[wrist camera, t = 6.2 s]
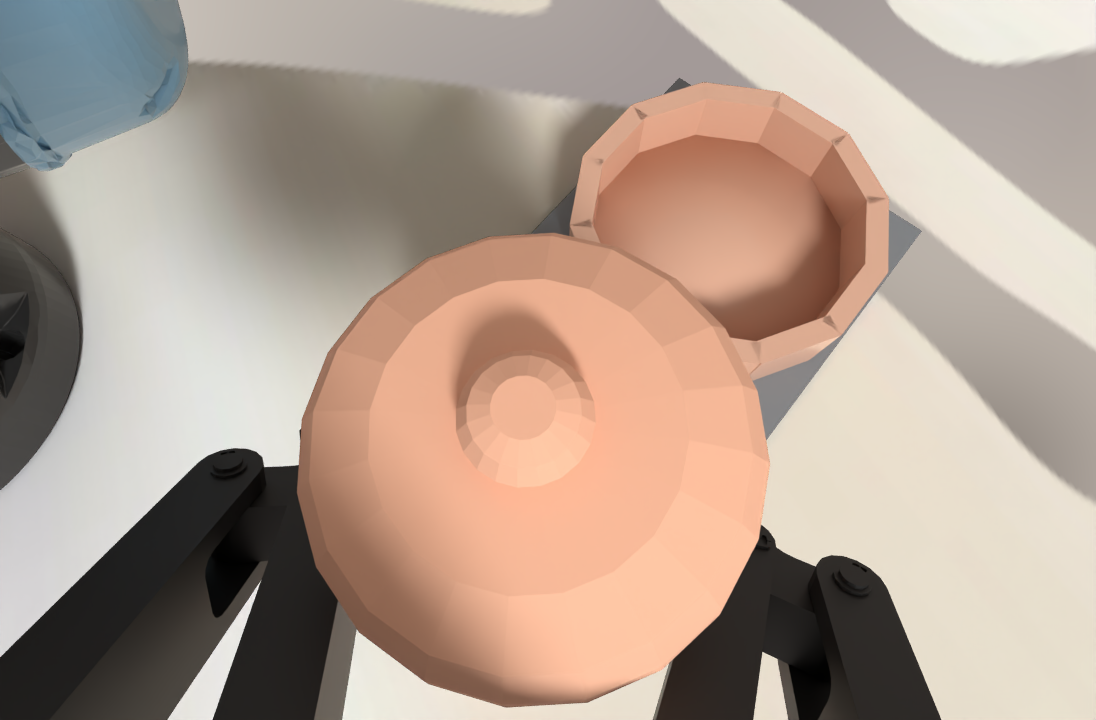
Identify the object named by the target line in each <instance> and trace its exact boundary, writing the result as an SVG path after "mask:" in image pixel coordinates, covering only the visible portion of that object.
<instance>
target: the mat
mask: <svg viewBox="0 0 1096 720" xmlns="http://www.w3.org/2000/svg"><path fill="white" fill-rule="evenodd" d="M689 86H691V85H690V84H688V83H687V82H685V81H683V80H682V79H680V78H679V79H678V80H677V81H676V82H675V83H674V84H673V85H672V86H671V87H670V88H669V89H668V90H667V91H666V92H665V93H664V94H667V93H670V92H673V91H677V90H680V89H683V88H686V87H689ZM664 94H663V95H664ZM576 189H577V186H576V187H575V188H574V189H573V190H572V191H571V192H570V193H569V194H568V195H567V196H566V197H565V199H564V200H563V201H562V202H561V203H560V204H559V205H558V206H557V207H556V208H555V209H554V210H553V211H552V212H551V213H550V214H549V215H548V216H547V217H546V219H545V220H544V221H543V222H542V223H541V224H540V225H539V226H538V227H537V228H536V229H535V230H534V231H533V232H532V233H531V234H541V233H558V234H562V235H567V236H569V232H570V220H571V215H572V210H573V205H574V200H575V194H576ZM920 233H921V230H920V229H918V228H916V227H915V226H913V225H912V224H910V223H909V222H907V221H905V220H904V219H902V218H901V217H899V216H897V215H896V214H894V213H893V212H891V211H889V247H888V274H887V275H886V276H885V278H884V279H883V280H882V282H881V283H880V284H879V286H878V287H877V288H876V290H875V291H874V292H873V294H872V295H871V296H870V298H869V299H868V300H867V302H866V303H865V304H864V306H863V307H862V308H861V310H860V311H859V312H858V314H857V315H856V317H855V318H854V319H853V321H852V322H851V323H850V325H849V326H848V327H847V329H846V330H845V331H844V333H843V334H842V335H841V336H840V337H838V338H837V339H836V340H834V341H833V342H832V343H830V344H829V345H828V346H827V347H825V348H824V349H823V350H821V351H820V352H819V353H818V354H816V355H815V356H814V357H812V358H811V359H810V360H808V361H806V362H803V363H800V364H797V365H795V366H792V367H789V368H786V369H784V370H781V371H778V372H775V373H773V374H770V375H767V376H764V377H762V378H759V379H756V380H753V383H754V385H755V387H756V389H757V391H758V396H759V402H760V408H761V414H762V420H763V425H764V431H765V437H766V440H767V439H768V437H769V436H770V435H771V433H772V432H773V430H774V429H775V428H776V426H777V425H778V424H779V422H780V421H781V420H782V418H783V417H784V416H785V414H786V413H787V412H788V410H789V409H790V408H791V406H792V405H793V404H794V402H795V401H796V400H797V398H798V397H799V395H800V394H801V393H802V391H803V390H804V389H805V387H806V386H807V385H808V383H809V382H810V381H811V379H812V378H813V377H814V375H815V374H816V373H817V371H818V370H819V369H820V367H821V366H822V365H823V363H824V362H825V360H826V359H827V358H828V356H829V355H830V354H831V352H832V351H833V350H834V348H835V347H836V346H837V344H838V343H839V342H840V340H841V339H842V338H843V336H844V335H845V334H846V332H847V331H848V330H849V328H850V327H851V325H852V324H853V323H854V321H855V320H856V319H857V317H858V316H859V315H860V313H861V312H862V311H863V309H864V308H865V307H866V305H867V304H868V303H869V301H870V300H871V299H872V297H873V296H874V295H875V293H876V292H877V290H878V289H879V288H880V286H881V285H882V284H883V282H884V281H885V280H886V278H887V277H888V276H889V274H890V273H891V271H892V270H893V269H894V267H895V266H896V265H897V264H898V262H899V261H900V259H901V258H902V257H903V255H904V254H905V253H906V251H907V250H908V249H909V247H910V246H911V245H912V243H913V242H914V241H915V239H916V238H917V237H918V235H919V234H920Z"/></svg>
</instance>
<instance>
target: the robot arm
mask: <svg viewBox="0 0 1096 720" xmlns="http://www.w3.org/2000/svg"><path fill="white" fill-rule="evenodd" d="M187 71H188V46H187V39H186V33H185V28H184V23H183V19H182V15H181V11H180V7H179V4H178V0H0V178H2V177H5V176H8V175H11V174H14V173H17V172H19V171H22V170H25V169H28V168H31V167H32V168H37V169H38V170H39V171H51V170H54V169H56V168H59V167H61V166H63V165H64V164H65V162H66V161H67V160H68V159H69V158H70V157H71V155H72V153H74V152H76V151H79V150H81V149H84V148H86V147H89V146H91V145H94V144H96V143H99V142H101V141H104V140H106V139H109V138H111V137H114V136H116V135H119V134H121V133H124V132H126V131H129V130H131V129H133V128H136V127H138V126H141V125H143V124H146V123H148V122H151V121H152V120H154V119H156V118H158V117H160V116H161V115H163V114H164V113H166V112H167V111H168V110H169V109H170V108H171V107H172V106H173V105H174V103H175V102H176V101H177V99H178V97H179V96H180V94H181V91H182V89H183V87H184V84H185V81H186V77H187ZM79 336H80V332H79V321H78V315H77V310H76V306H75V302H74V299H73V297H72V294H71V291H70V289H69V287H68V285H67V283H66V281H65V280H64V278H63V276H62V275H61V273H60V272H59V271H58V269H57V268H56V267H55V266H54V265H53V264H52V262H51V261H50V260H49V259H48V258H47V257H45V256H44V255H43V254H42V253H41V252H39V251H38V250H37V249H35V248H34V247H32V246H31V245H29V244H27V243H26V242H24V241H22V240H20V239H19V238H17V237H15V236H13V235H12V234H10V233H8V232H6V231H5V230H3V229H1V228H0V490H1V489H2V488H3V487H4V486H5V485H7V484H8V483H9V482H10V481H11V480H12V479H13V478H14V477H15V476H16V475H17V474H18V473H19V472H20V470H21V469H22V468H23V467H24V466H25V465H26V464H27V463H28V462H29V460H30V459H31V458H32V457H33V455H34V454H35V453H36V452H37V450H38V449H39V448H40V446H41V445H42V443H43V442H44V441H45V439H46V438H47V436H48V434H49V433H50V431H51V430H52V428H53V426H54V424H55V423H56V421H57V419H58V417H59V415H60V413H61V411H62V409H63V407H64V405H65V402H66V400H67V397H68V395H69V392H70V389H71V386H72V383H73V380H74V376H75V372H76V367H77V361H78V355H79ZM300 440H301V429H300ZM298 470H299V465H296V466H283V467H264V464H263V459H262V457H261V456H260V455H259V454H258V453H257V452H255V451H252V450H249V449H238V448H233V449H227V450H222V451H218V452H216V453H213V454H211V455H208V456H207V457H205V458H204V459H203V460H201V461H200V462H198V463H197V464H196V465H195V466H194V467H193V468H192V469H191V470H190V471H189V472H188V473H187V474H186V475H185V476H184V477H183V478H182V479H181V480H180V481H179V482H178V483H177V484H176V485H175V486H174V487H173V488H172V489H171V490H170V491H169V492H168V493H167V494H166V495H165V496H164V497H163V498H162V499H161V500H160V501H159V502H158V503H157V504H156V505H155V506H154V507H153V508H152V509H151V510H150V511H149V512H148V513H147V514H146V515H145V516H143V517H142V518H141V519H140V520H139V521H138V522H137V523H136V524H135V525H134V526H133V527H132V528H131V529H130V530H129V531H128V532H127V533H126V534H125V535H124V536H123V537H122V538H121V539H120V540H119V541H118V542H117V543H116V544H115V545H114V546H113V547H112V548H111V549H110V550H109V551H108V552H107V553H106V554H105V555H104V556H103V557H102V558H101V559H100V560H99V561H98V562H97V563H96V564H95V565H94V566H93V567H92V568H91V569H90V570H89V571H88V572H87V573H85V574H84V575H83V576H82V577H81V578H80V579H79V580H78V581H77V582H76V583H75V584H74V585H73V586H72V587H71V588H70V589H69V590H68V591H67V592H66V593H65V594H64V595H63V596H62V597H61V598H60V599H59V600H58V601H57V602H56V603H55V604H54V605H53V606H52V607H51V608H50V609H49V610H48V611H47V612H46V613H45V614H44V615H43V616H42V617H41V618H40V619H39V620H38V621H37V622H36V623H35V624H34V625H33V626H32V627H31V628H30V629H29V630H28V631H26V632H25V633H24V634H23V635H22V636H21V637H20V638H19V639H18V640H17V641H16V642H15V643H14V644H13V645H12V646H11V647H10V648H9V649H8V650H7V651H6V652H5V653H4V654H3V655H2V656H1V657H0V720H167V719H168V718H169V716H170V715H171V713H172V712H173V710H174V709H175V707H176V706H177V704H178V703H179V701H180V700H181V698H182V697H183V695H184V694H185V692H186V691H187V689H188V688H189V686H190V685H191V683H192V682H193V680H194V679H195V677H196V676H197V675H198V673H199V672H200V670H201V669H202V667H203V666H204V664H205V663H206V661H207V660H208V658H209V657H210V655H211V654H212V652H213V651H214V649H215V648H216V646H217V645H218V643H219V642H220V640H221V639H222V637H223V636H224V634H225V633H226V631H227V630H228V628H229V627H230V625H231V624H232V622H233V621H234V620H235V618H236V617H237V615H238V614H239V612H240V611H241V609H242V608H243V606H244V605H245V603H246V602H247V600H248V599H249V597H250V596H251V594H252V593H253V591H254V590H255V588H256V587H257V585H258V584H259V582H260V581H261V583H260V586H259V588H258V591H257V594H256V597H255V600H254V603H253V606H252V609H251V611H250V614H249V617H248V620H247V623H246V626H245V629H244V631H243V634H242V637H241V640H240V643H239V646H238V649H237V651H236V654H235V657H234V660H233V663H232V666H231V669H230V671H229V674H228V677H227V680H226V683H225V686H224V689H223V692H222V694H221V697H220V700H219V703H218V706H217V709H216V712H215V714H214V717H213V720H342V716H343V710H344V703H345V697H346V691H347V685H348V679H349V673H350V666H351V660H352V654H353V648H354V642H355V635H356V629H357V628H356V627H355V625H354V624H353V622H352V621H351V619H350V618H349V616H348V615H347V613H346V612H345V610H344V609H343V607H342V606H341V604H340V602H339V601H338V599H337V598H336V596H335V595H334V593H333V592H332V590H331V589H330V587H329V586H328V584H327V583H326V581H325V580H324V578H323V577H322V575H321V574H320V572H319V571H318V569H317V568H316V565H315V561H314V557H313V553H312V550H311V546H310V542H309V538H308V534H307V530H306V526H305V522H304V518H303V514H302V510H301V507H300V503H299V499H298V495H297V485H298ZM261 579H262V580H261ZM762 652H764V653H766V654H768V655H771V656H773V657H775V658H777V659H778V665H779V670H780V676H781V681H782V687H783V692H784V698H785V703H786V709H787V714H788V720H941V718H940V715H939V713H938V710H937V708H936V706H935V703H934V701H933V698H932V696H931V693H930V691H929V689H928V686H927V684H926V681H925V679H924V676H923V674H922V672H921V669H920V667H919V664H918V662H917V660H916V657H915V655H914V652H913V650H912V647H911V645H910V643H909V640H908V638H907V635H906V633H905V630H904V628H903V626H902V623H901V621H900V618H899V616H898V614H897V611H896V609H895V606H894V604H893V601H892V599H891V597H890V594H889V592H888V589H887V587H886V586H885V584H884V583H883V581H882V580H881V578H880V577H879V576H878V575H877V574H875V573H874V572H873V571H872V570H871V569H870V568H868V567H867V566H865V565H863V564H861V563H860V562H858V561H856V560H853V559H850V558H847V557H844V556H833V555H831V556H827V557H824V558H822V559H821V560H820V561H819V562H818V564H817V565H816V567H815V566H813V565H810V564H808V563H805V562H803V561H801V560H798V559H796V558H794V557H792V556H790V555H788V554H786V553H784V552H782V551H781V550H779V549H778V548H776V544H775V539H774V538H773V536H772V535H771V534H770V532H769V531H768V530H767V529H766V528H765V527H763V526H762V525H761V527H760V534H759V540H758V542H757V544H756V546H755V548H754V550H753V551H752V553H751V555H750V557H749V559H748V561H747V563H746V565H745V567H744V569H743V571H742V573H741V575H740V577H739V579H738V581H737V582H736V584H735V586H734V588H733V590H732V592H731V594H730V596H729V598H728V600H727V602H726V604H725V606H724V608H723V610H722V612H721V614H720V615H719V616H718V617H717V618H716V619H715V620H714V621H713V622H712V623H711V624H710V625H709V626H708V627H706V628H705V629H704V630H703V631H702V632H701V633H700V634H699V635H698V636H697V637H696V638H695V639H694V640H693V641H692V642H691V643H690V644H689V645H687V646H686V647H685V648H684V649H683V650H682V651H681V652H680V653H679V654H678V655H677V656H676V657H675V658H674V659H673V660H672V661H671V662H670V663H669V666H668V669H667V673H666V676H665V680H664V683H663V687H662V690H661V693H660V697H659V700H658V704H657V707H656V711H655V714H654V717H653V720H753V717H754V709H755V702H756V694H757V687H758V680H759V672H760V665H761V658H762Z"/></svg>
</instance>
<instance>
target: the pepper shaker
mask: <svg viewBox="0 0 1096 720" xmlns="http://www.w3.org/2000/svg"><path fill="white" fill-rule="evenodd" d="M769 467H770V461H769V455H768V449H767V443H766V437H765V431H764V425H763V420H762V414H761V408H760V402H759V396H758V391H757V389H756V387H755V385H754V383H753V381H752V379H751V377H750V375H749V373H748V371H747V370H746V368H745V366H744V364H743V362H742V360H741V358H740V356H739V354H738V352H737V350H736V348H735V346H734V344H733V342H732V341H731V339H730V337H729V335H728V333H727V331H726V329H725V328H724V327H723V326H722V325H721V324H720V322H719V321H718V320H717V319H716V318H715V317H714V316H713V315H712V314H711V313H710V312H709V311H708V310H707V309H706V308H705V307H704V306H703V305H702V304H701V303H700V302H699V301H698V300H697V299H696V298H695V297H694V296H693V295H692V294H691V293H690V292H689V291H688V290H687V289H686V288H685V287H684V286H683V285H682V284H681V283H680V282H679V281H678V280H677V279H676V278H674V277H672V276H670V275H668V274H667V273H665V272H663V271H661V270H659V269H657V268H656V267H654V266H652V265H650V264H648V263H647V262H645V261H643V260H641V259H639V258H638V257H636V256H634V255H632V254H630V253H628V252H627V251H625V250H623V249H621V248H619V247H616V246H612V245H607V244H603V243H598V242H594V241H589V240H585V239H580V238H576V237H571V236H567V235H562V234H558V233H541V234H525V235H508V236H492V237H486V238H483V239H481V240H478V241H475V242H472V243H469V244H466V245H464V246H461V247H458V248H455V249H452V250H449V251H447V252H444V253H441V254H438V255H435V256H432V257H430V258H427V259H425V260H423V261H422V262H421V263H419V264H418V265H416V266H415V267H414V268H412V269H411V270H409V271H408V272H407V273H405V274H404V275H402V276H401V277H400V278H398V279H397V280H395V281H394V282H393V283H391V284H390V285H388V286H387V287H386V288H384V289H383V290H381V291H380V292H379V293H377V294H376V295H374V296H373V297H372V298H370V300H369V301H368V302H367V303H366V305H365V306H364V307H363V309H362V310H361V311H360V312H359V314H358V315H357V316H356V317H355V319H354V320H353V321H352V323H351V324H350V325H349V326H348V328H347V329H346V330H345V331H344V333H343V334H342V335H341V337H340V338H339V339H338V340H337V342H336V343H335V344H334V345H333V347H332V348H331V349H330V351H329V352H328V354H327V356H326V359H325V361H324V364H323V366H322V369H321V372H320V374H319V377H318V379H317V382H316V384H315V387H314V390H313V392H312V395H311V397H310V400H309V402H308V405H307V407H306V410H305V413H304V415H303V418H302V426H301V440H300V455H299V470H298V485H297V495H298V499H299V503H300V507H301V510H302V514H303V518H304V522H305V526H306V530H307V534H308V538H309V542H310V546H311V550H312V553H313V557H314V561H315V565H316V568H317V569H318V571H319V572H320V574H321V575H322V577H323V578H324V580H325V581H326V583H327V584H328V586H329V587H330V589H331V590H332V592H333V593H334V595H335V596H336V598H337V599H338V601H339V602H340V604H341V606H342V607H343V609H344V610H345V612H346V613H347V615H348V616H349V618H350V619H351V621H352V622H353V624H354V625H355V627H356V628H357V630H358V631H359V633H361V634H362V635H363V636H365V637H366V638H367V639H369V640H370V641H371V642H373V643H374V644H375V645H377V646H378V647H379V648H381V649H382V650H383V651H385V652H386V653H387V654H389V655H390V656H391V657H393V658H394V659H395V660H397V661H398V662H399V663H401V664H402V665H403V666H405V667H406V668H407V669H409V670H410V671H411V672H413V673H414V674H415V675H417V676H418V677H419V678H421V679H422V680H423V681H425V682H426V683H428V684H430V685H433V686H437V687H440V688H443V689H447V690H450V691H453V692H457V693H460V694H463V695H466V696H470V697H473V698H476V699H480V700H483V701H486V702H490V703H493V704H496V705H500V706H503V707H522V706H538V705H555V704H571V703H587V702H590V701H592V700H594V699H597V698H599V697H601V696H603V695H606V694H608V693H610V692H612V691H615V690H617V689H619V688H622V687H624V686H626V685H628V684H631V683H633V682H635V681H638V680H640V679H642V678H644V677H647V676H649V675H651V674H654V673H656V672H658V671H660V670H662V669H663V668H664V667H665V666H666V665H667V664H669V663H670V662H671V661H672V660H673V659H674V658H675V657H676V656H677V655H678V654H679V653H680V652H681V651H682V650H683V649H684V648H685V647H686V646H687V645H689V644H690V643H691V642H692V641H693V640H694V639H695V638H696V637H697V636H698V635H699V634H700V633H701V632H702V631H703V630H704V629H705V628H706V627H708V626H709V625H710V624H711V623H712V622H713V621H714V620H715V619H716V618H717V617H718V616H719V615H720V614H721V612H722V610H723V608H724V606H725V604H726V602H727V600H728V598H729V596H730V594H731V592H732V590H733V588H734V586H735V584H736V582H737V581H738V579H739V577H740V575H741V573H742V571H743V569H744V567H745V565H746V563H747V561H748V559H749V557H750V555H751V553H752V551H753V550H754V548H755V546H756V544H757V542H758V540H759V534H760V527H761V520H762V514H763V507H764V500H765V494H766V487H767V480H768V474H769Z"/></svg>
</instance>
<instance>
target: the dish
mask: <svg viewBox="0 0 1096 720" xmlns="http://www.w3.org/2000/svg"><path fill="white" fill-rule="evenodd" d="M780 93H781V92H777V91H769V90H761V89H753V88H746V87H738V86H730V85H722V84H714V83H707V82H704V83H703V82H702V83H699V84H696V85H692V86H689V87H686V88H683V89H680V90H677V91H673V92H670V93H667V94H664V95H661V96H657V97H654V98H651V99H648V100H645V101H642V102H638V103H635V104H633V105H631V106H630V107H629V108H628V109H627V110H626V111H625V112H624V113H623V114H622V115H621V116H620V118H619V119H618V120H617V121H616V122H615V123H614V124H613V125H612V126H611V127H610V128H609V129H608V130H607V131H606V132H605V133H604V134H603V135H602V136H601V137H600V138H599V139H598V140H597V141H596V142H595V143H594V144H593V146H592V147H591V148H590V149H589V150H588V151H587V152H586V153H585V154H584V155H583V158H582V163H581V168H580V173H579V179H578V184H577V189H576V194H575V200H574V205H573V210H572V215H571V220H570V232H569V236H571V237H576V238H580V239H585V240H589V241H594V242H598V243H603V244H607V245H612V246H616V247H619V248H621V249H623V250H625V251H627V252H628V253H630V254H632V255H634V256H636V257H638V258H639V259H641V260H643V261H645V262H647V263H648V264H650V265H652V266H654V267H656V268H657V269H659V270H661V271H663V272H665V273H667V274H668V275H670V276H672V277H674V278H676V279H677V280H678V281H679V282H680V283H681V284H682V285H683V286H684V287H685V288H686V289H687V290H688V291H689V292H690V293H691V294H692V295H693V296H694V297H695V298H696V299H697V300H698V301H699V302H700V303H701V304H702V305H703V306H704V307H705V308H706V309H707V310H708V311H709V312H710V313H711V314H712V315H713V316H714V317H715V318H716V319H717V320H718V321H719V322H720V324H721V325H722V326H723V327H724V328H725V329H726V331H727V333H728V335H729V337H730V339H731V341H732V342H733V344H734V346H735V348H736V350H737V352H738V354H739V356H740V358H741V360H742V362H743V364H744V366H745V368H746V370H747V371H748V373H749V375H750V377H751V379H752V381H753V380H756V379H759V378H762V377H764V376H767V375H770V374H773V373H775V372H778V371H781V370H784V369H786V368H789V367H792V366H795V365H797V364H800V363H803V362H806V361H808V360H810V359H811V358H812V357H814V356H815V355H816V354H818V353H819V352H820V351H821V350H823V349H824V348H825V347H827V346H828V345H829V344H830V343H832V342H833V341H834V340H836V339H837V338H838V337H840V336H841V335H842V334H843V333H844V331H845V330H846V329H847V327H848V326H849V325H850V323H851V322H852V321H853V319H854V318H855V317H856V315H857V314H858V312H859V311H860V310H861V308H862V307H863V306H864V304H865V303H866V302H867V300H868V299H869V298H870V296H871V295H872V294H873V292H874V291H875V290H876V288H877V287H878V286H879V284H880V283H881V282H882V280H883V279H884V278H885V276H886V275H887V274H888V247H889V199H888V198H889V197H888V196H887V194H886V193H885V191H884V189H883V188H882V186H881V185H880V183H879V181H878V180H877V178H876V176H875V175H874V173H873V172H872V170H871V168H870V167H869V165H868V164H867V162H866V160H865V159H864V157H863V155H862V154H861V152H860V151H859V149H858V147H857V146H856V144H855V143H854V141H853V139H852V138H851V136H850V134H848V132H846V131H844V130H843V129H841V128H839V127H838V126H836V125H834V124H833V123H831V122H830V121H828V120H826V119H825V118H823V117H821V116H820V115H818V114H816V113H815V112H813V111H811V110H810V109H808V108H807V107H805V106H803V105H802V104H800V103H798V102H797V101H795V100H793V99H792V98H790V97H789V96H787V95H785V94H784V93H781V94H780Z"/></svg>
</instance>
